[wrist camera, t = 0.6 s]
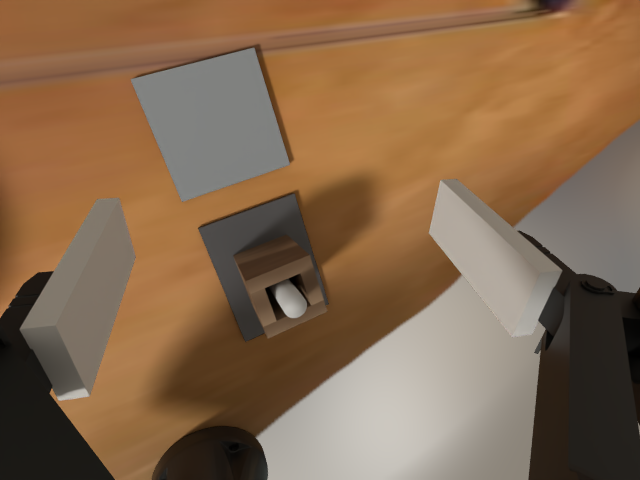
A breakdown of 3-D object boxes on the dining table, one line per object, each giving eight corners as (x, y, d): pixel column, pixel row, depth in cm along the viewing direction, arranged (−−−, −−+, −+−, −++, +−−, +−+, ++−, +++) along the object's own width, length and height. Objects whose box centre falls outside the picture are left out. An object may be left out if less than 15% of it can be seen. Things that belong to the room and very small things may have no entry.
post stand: (327, 302, 53) (367, 346, 42) (244, 339, 50) (264, 396, 39) (293, 193, 48) (328, 210, 37) (198, 227, 45) (205, 257, 34)
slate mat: (288, 164, 47) (290, 164, 46) (181, 200, 43) (182, 201, 43) (253, 48, 42) (254, 47, 42) (131, 80, 39) (130, 79, 38)
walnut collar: (302, 282, 51) (327, 311, 42) (252, 304, 49) (267, 338, 41) (286, 234, 48) (309, 255, 40) (232, 255, 46) (245, 281, 38)
